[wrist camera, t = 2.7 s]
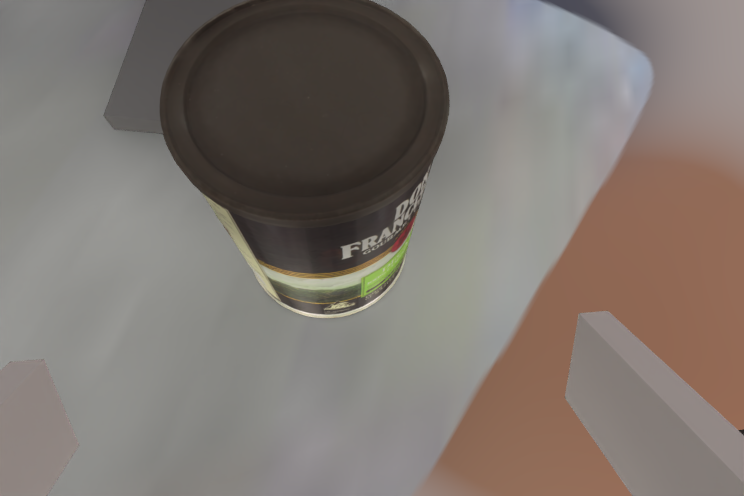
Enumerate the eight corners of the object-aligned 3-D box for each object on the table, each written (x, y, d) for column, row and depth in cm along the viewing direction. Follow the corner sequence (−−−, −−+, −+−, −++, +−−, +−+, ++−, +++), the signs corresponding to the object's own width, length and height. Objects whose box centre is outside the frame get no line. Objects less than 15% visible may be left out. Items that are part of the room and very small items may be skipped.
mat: (114, 129, 31) (103, 115, 30) (164, -12, 37) (156, -29, 35) (340, 149, 32) (339, 136, 30) (358, 5, 37) (358, -11, 35)
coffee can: (437, 224, 30) (502, 66, 17) (345, 352, 26) (335, 282, 13) (314, 146, 32) (285, -51, 18) (214, 257, 28) (92, 113, 15)
